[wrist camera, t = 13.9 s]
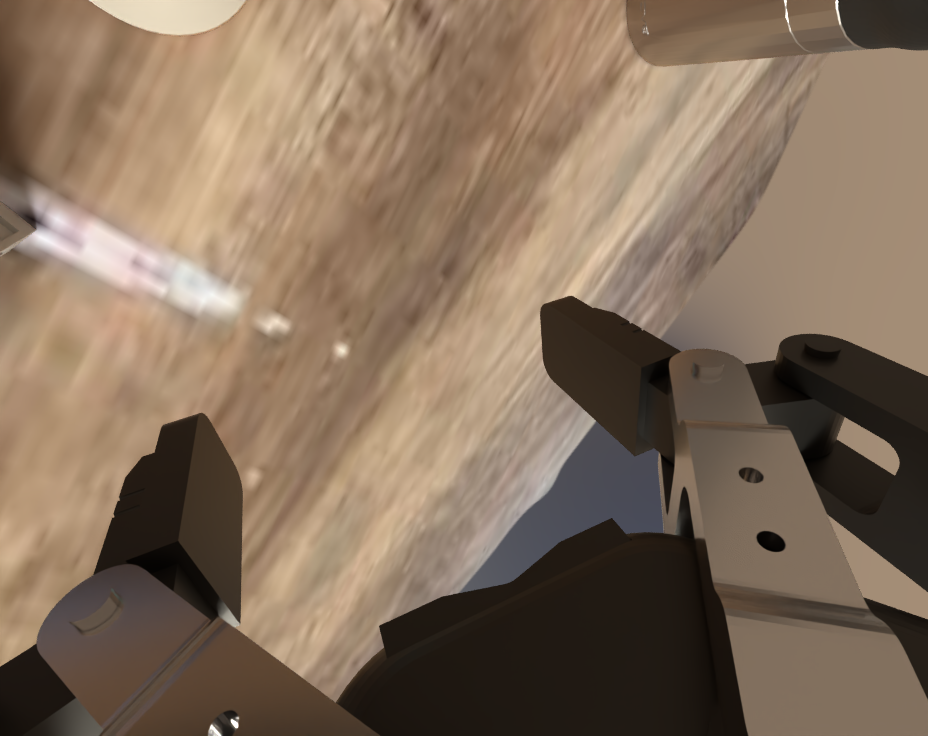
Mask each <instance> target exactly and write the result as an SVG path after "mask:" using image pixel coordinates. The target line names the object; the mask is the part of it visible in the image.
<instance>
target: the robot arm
mask: <svg viewBox="0 0 928 736" xmlns="http://www.w3.org/2000/svg"><path fill="white" fill-rule="evenodd" d="M627 24H628V29H629V34H630V38H631V40H632V43H633V45H634V47H635V49H636V50H637V52H638V54H639V55H640V56H641V57H642V58H643V59H644V60H645V61H646V62H648V63H650V64H653V65H655V66H676V65H688V64H703V63H714V62H726V61H738V60H750V59H762V58H773V57H785V56H797V55H809V54H821V53H829V52H841V51H853V50H865V49H880V48H900V49H907V50H928V0H628V1H627ZM540 320H541V336H542V352H543V362H544V366H545V368H546V371H547V373H548V375H549V376H550V378H551V379H552V380H553V381H554V382H555V383H556V384H557V385H558V386H559V387H560V388H561V389H562V390H563V391H564V392H566V393H567V394H568V395H569V396H570V397H571V398H572V399H573V400H574V401H575V402H576V403H578V404H579V405H580V406H581V407H582V408H583V409H584V410H585V411H586V412H587V413H588V414H589V415H591V416H592V417H593V418H594V419H595V420H596V421H597V422H598V423H599V424H600V425H601V426H603V427H604V428H605V429H606V430H607V431H608V432H609V433H610V434H611V435H612V436H613V437H614V438H615V439H617V440H618V441H619V442H620V443H621V444H622V445H623V446H624V447H625V448H626V449H627V450H629V451H630V452H631V453H632V454H633V455H634V456H637V455H639V454H641V453H644V452H646V451H649V450H651V449H653V448H655V449H656V450H657V451H659V458H658V470H659V481H660V492H661V503H662V515H663V526H664V533H651V532H643V533H630V534H625V533H624V531H623V530H622V529H621V528H620V527H619V526H618V525H617V523H616V522H615V521H614V520H613V519H612V518H611V519H609V520H607V521H604V522H602V523H600V524H598V525H596V526H594V527H591V528H589V529H587V530H585V531H583V532H581V533H579V534H576V535H574V536H572V537H570V538H568V539H566V540H564V541H561V542H560V543H558V544H557V545H556V546H555V547H554V548H552V549H551V550H550V551H549V552H548V553H546V554H545V555H544V556H543V557H542V558H540V559H539V560H538V561H537V562H536V563H534V564H533V565H532V566H531V567H530V568H529V569H527V570H526V571H525V572H524V573H522V574H521V575H520V576H519V577H518V578H516V579H515V580H514V581H512V582H510V583H507V584H503V585H498V586H493V587H489V588H483V589H478V590H474V591H468V592H463V593H458V594H453V595H448V596H443V597H440V598H438V599H436V600H434V601H432V602H430V603H427V604H425V605H423V606H421V607H419V608H417V609H414V610H412V611H410V612H408V613H406V614H404V615H402V616H399V617H397V618H395V619H393V620H391V621H389V622H386V623H384V624H382V625H380V626H379V628H380V632H381V636H382V640H383V644H384V648H383V649H382V650H381V651H379V652H378V653H377V654H376V655H375V656H373V657H372V658H371V659H370V660H369V661H368V662H367V663H366V664H365V665H364V666H363V667H362V668H361V669H360V671H359V672H358V673H357V674H356V675H355V677H354V678H353V679H352V680H351V682H350V683H349V684H348V685H347V687H346V688H345V690H344V691H343V693H342V694H341V696H340V697H339V699H338V700H337V702H336V703H335V702H334V701H333V700H331V699H330V698H329V697H327V696H326V695H325V694H323V693H322V692H321V691H319V690H318V689H317V688H315V687H314V686H312V685H311V684H310V683H308V682H307V681H306V680H304V679H303V678H302V677H300V676H299V675H298V674H296V673H295V672H294V671H292V670H291V669H290V668H288V667H287V666H286V665H284V664H283V663H282V662H280V661H279V660H278V659H276V658H275V657H273V656H272V655H271V654H269V653H268V652H267V651H265V650H264V649H263V648H261V647H260V646H259V645H257V644H256V643H255V642H253V641H252V640H251V639H249V638H248V637H247V636H245V635H244V634H243V633H241V632H240V631H238V630H237V629H236V628H234V627H236V626H239V625H240V618H241V561H242V504H243V491H242V484H241V480H240V477H239V474H238V471H237V469H236V467H235V465H234V463H233V461H232V459H231V457H230V456H229V454H228V452H227V450H226V449H225V447H224V445H223V443H222V441H221V440H220V438H219V436H218V434H217V433H216V431H215V429H214V427H213V425H212V424H211V422H210V420H209V419H208V417H207V416H206V415H205V414H203V413H199V414H196V415H193V416H190V417H186V418H183V419H180V420H177V421H174V422H171V423H168V424H165V425H163V426H162V428H161V431H160V434H159V438H158V442H157V445H156V449H155V453H152V454H149V455H146V456H143V457H142V458H141V459H140V460H139V461H138V463H137V464H136V465H135V466H134V468H133V469H132V470H131V471H130V473H129V474H128V475H127V476H126V477H125V480H124V483H123V486H122V489H121V493H120V496H119V498H120V501H118V502H117V505H116V508H115V511H114V518H112V520H111V523H110V526H109V529H108V532H107V535H106V538H105V541H104V544H103V547H102V550H101V553H100V556H99V559H98V562H97V565H96V568H95V571H94V574H93V576H91V577H89V578H88V579H86V580H84V581H83V582H81V583H80V584H79V585H77V586H76V587H75V588H73V589H72V590H71V591H70V592H69V593H67V594H66V595H65V596H64V597H63V598H62V599H61V600H60V601H59V602H58V603H57V604H56V605H55V607H54V608H53V609H52V610H51V611H50V613H49V614H48V616H47V617H46V618H45V620H44V622H43V624H42V626H41V628H40V630H39V633H38V636H37V644H35V645H34V646H32V647H31V648H29V649H28V650H26V651H25V652H23V653H21V654H20V655H18V656H17V657H15V658H13V659H12V660H10V661H9V662H7V663H5V664H4V665H2V666H1V667H0V736H928V619H925V618H922V617H919V616H916V615H913V614H910V613H907V612H905V611H902V610H898V609H896V608H893V607H890V606H887V605H884V604H881V603H878V602H875V601H873V600H870V599H867V598H864V597H863V596H862V594H861V591H860V589H859V587H858V584H857V583H856V580H855V578H854V575H853V573H852V571H851V568H850V566H849V564H848V562H847V559H846V557H845V555H844V552H843V550H842V548H841V545H840V543H839V541H838V539H837V536H836V534H835V532H834V530H833V527H832V525H831V522H830V520H829V518H828V516H827V514H828V515H829V516H830V517H832V518H833V519H834V520H835V521H837V522H838V523H839V524H840V525H842V526H843V527H844V528H846V529H847V530H848V531H850V532H851V533H852V534H854V535H855V536H856V537H857V538H859V539H860V540H861V541H862V542H864V543H865V544H866V545H868V546H869V547H870V548H871V549H873V550H874V551H875V552H877V553H878V554H879V555H881V556H882V557H883V558H884V559H886V560H887V561H888V562H890V563H891V564H892V565H893V566H895V567H896V568H897V569H899V570H900V571H901V572H903V573H904V574H906V576H908V577H909V578H910V579H912V580H913V581H914V582H915V583H917V584H918V585H919V586H921V587H922V588H923V589H925V590H926V591H927V592H928V376H926V375H923V374H921V373H919V372H917V371H914V370H912V369H910V368H908V367H905V366H903V365H900V364H898V363H896V362H894V361H892V360H889V359H887V358H885V357H882V356H880V355H878V354H876V353H873V352H871V351H869V350H866V349H864V348H862V347H860V346H857V345H855V344H853V343H850V342H848V341H846V340H843V339H839V338H836V337H832V336H827V335H820V334H800V335H794V336H790V337H788V338H786V339H784V340H783V341H782V342H781V343H780V345H779V349H778V353H777V357H776V360H774V361H766V362H759V363H751V364H744V363H743V362H742V361H741V360H739V359H738V358H736V357H735V356H733V355H730V354H728V353H725V352H722V351H718V350H711V349H691V350H685V351H682V352H681V351H679V350H678V349H676V348H674V347H672V346H671V345H669V344H667V343H665V342H664V341H662V340H660V339H659V338H657V337H655V336H653V335H652V334H650V333H648V332H647V331H645V330H643V331H642V330H641V328H640V327H638V326H636V325H635V324H633V323H631V324H630V323H629V321H628V320H626V319H624V318H622V317H621V316H619V315H617V314H616V313H613V312H609V311H605V310H601V309H598V308H592V307H590V306H589V305H587V304H585V303H584V302H582V301H580V300H579V299H577V298H575V297H573V296H568V297H565V298H562V299H558V300H555V301H552V302H549V303H546V304H544V305H543V306H542V307H541V311H540ZM844 417H846V418H848V419H849V420H851V421H853V422H854V423H856V424H858V425H860V426H861V427H863V428H865V429H867V430H868V431H870V432H872V433H873V434H875V435H877V436H879V437H880V438H882V439H884V440H885V441H887V442H888V443H889V444H890V445H891V446H892V447H893V448H894V449H895V451H896V452H897V454H898V457H899V461H900V465H899V469H898V471H897V473H896V475H895V476H894V475H893V474H891V473H889V472H888V471H886V470H885V469H883V468H881V467H880V466H878V465H877V464H875V463H874V462H872V461H870V460H869V459H867V458H865V457H864V456H862V455H861V454H859V453H858V452H856V451H854V450H853V449H851V448H850V447H848V446H846V445H845V444H843V443H841V442H840V441H838V440H837V436H838V433H839V431H840V428H841V425H842V423H843V420H844Z"/></svg>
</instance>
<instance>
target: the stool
mask: <svg viewBox="0 0 928 736" xmlns="http://www.w3.org/2000/svg"><path fill="white" fill-rule="evenodd" d="M34 231H36V229H35V228H34V227H32V226H31V225H30V224H29V223H27V222H26V221H25V220H24V219H22V218H21V217H20V216H19V215H17V214H16V213H15V212H13V211H12V210H11V209H10V208H8V207H7V206H6V205H5V204H3V203H2V202H0V256H2V255H3V254H5V253H7V252H8V251H10V250H11V249H12V248H14V247H15V246H16V245H17V244H19V243H20V242H21V241H23V240H24V239H25V238H27V237H28V236H29V235H31V234H32V233H33V232H34Z"/></svg>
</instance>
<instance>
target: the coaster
mask: <svg viewBox="0 0 928 736" xmlns="http://www.w3.org/2000/svg"><path fill="white" fill-rule="evenodd" d="M89 1H91V2H92V3H94V4H95V5H96V6H98V7H99V8H101V9H103V10H104V11H106V12H108V13H109V14H111V15H112V16H114V17H116V18H117V19H119V20H122V21H124V22H126V23H128V24H130V25H132V26H134V27H137V28H140V29H143V30H146V31H149V32H153V33H157V34H162V35H170V36H193V35H198V34H202V33H206V32H209V31H211V30H214V29H216V28H218V27H220V26H222V25H223V24H225V23H227V22H228V21H229V20H230V19H232V18H233V17H234V16H235V15H236V14H237V13H238V12H239V11H240V10H241V8H242V7H243V6H244V5H245V3H246V1H247V0H89Z"/></svg>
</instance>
